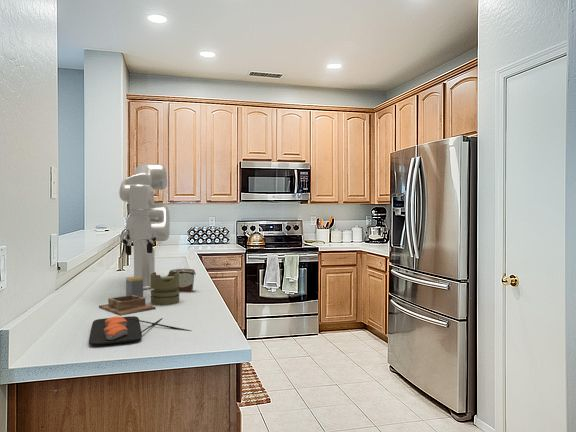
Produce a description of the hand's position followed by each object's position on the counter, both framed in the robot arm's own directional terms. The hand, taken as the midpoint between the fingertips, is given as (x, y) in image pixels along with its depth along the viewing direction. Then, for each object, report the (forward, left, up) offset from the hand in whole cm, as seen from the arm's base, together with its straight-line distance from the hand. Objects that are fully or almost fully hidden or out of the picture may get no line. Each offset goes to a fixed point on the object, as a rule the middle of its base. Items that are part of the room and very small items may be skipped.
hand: (139, 253), depth 192 cm
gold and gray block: (-2, -1, -19) cm, 19 cm away
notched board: (+13, -12, -19) cm, 26 cm away
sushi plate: (+45, -23, -20) cm, 54 cm away
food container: (-1, +23, -19) cm, 30 cm away
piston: (+14, +4, -19) cm, 24 cm away
